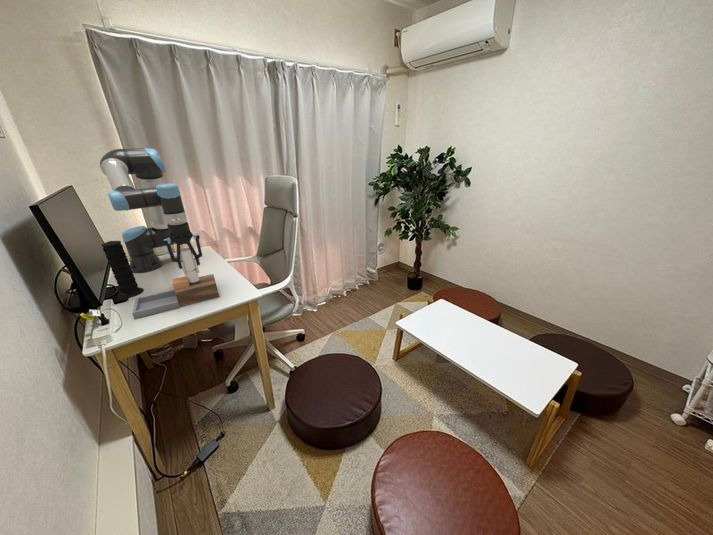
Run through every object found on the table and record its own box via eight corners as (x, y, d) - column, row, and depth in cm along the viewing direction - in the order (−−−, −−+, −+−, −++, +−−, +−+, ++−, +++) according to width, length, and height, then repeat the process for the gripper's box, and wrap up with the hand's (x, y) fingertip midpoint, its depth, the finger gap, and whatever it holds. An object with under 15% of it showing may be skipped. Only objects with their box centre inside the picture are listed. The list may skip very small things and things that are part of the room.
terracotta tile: (174, 284, 124) (172, 279, 123) (189, 281, 127) (187, 275, 126) (174, 290, 120) (172, 284, 118) (189, 286, 122) (188, 280, 121)
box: (138, 303, 123) (135, 298, 122) (179, 294, 131) (177, 288, 129) (134, 319, 112) (131, 313, 111) (179, 307, 120) (177, 302, 118)
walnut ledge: (179, 295, 130) (175, 282, 127) (216, 286, 137) (213, 274, 134) (179, 306, 120) (175, 293, 117) (219, 297, 128) (216, 283, 125)
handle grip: (132, 298, 127) (149, 288, 136) (110, 245, 116) (130, 237, 125) (112, 298, 128) (130, 287, 137) (88, 244, 117) (110, 237, 126)
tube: (189, 283, 123) (180, 252, 116) (188, 280, 126) (178, 249, 120) (200, 280, 125) (191, 250, 119) (198, 277, 128) (190, 247, 122)
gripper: (151, 228, 107) (169, 281, 117) (201, 221, 115) (214, 271, 125) (152, 223, 113) (169, 274, 123) (200, 217, 121) (212, 266, 131)
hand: (191, 273), depth 124 cm, fingers closed on tube, 4 cm apart
